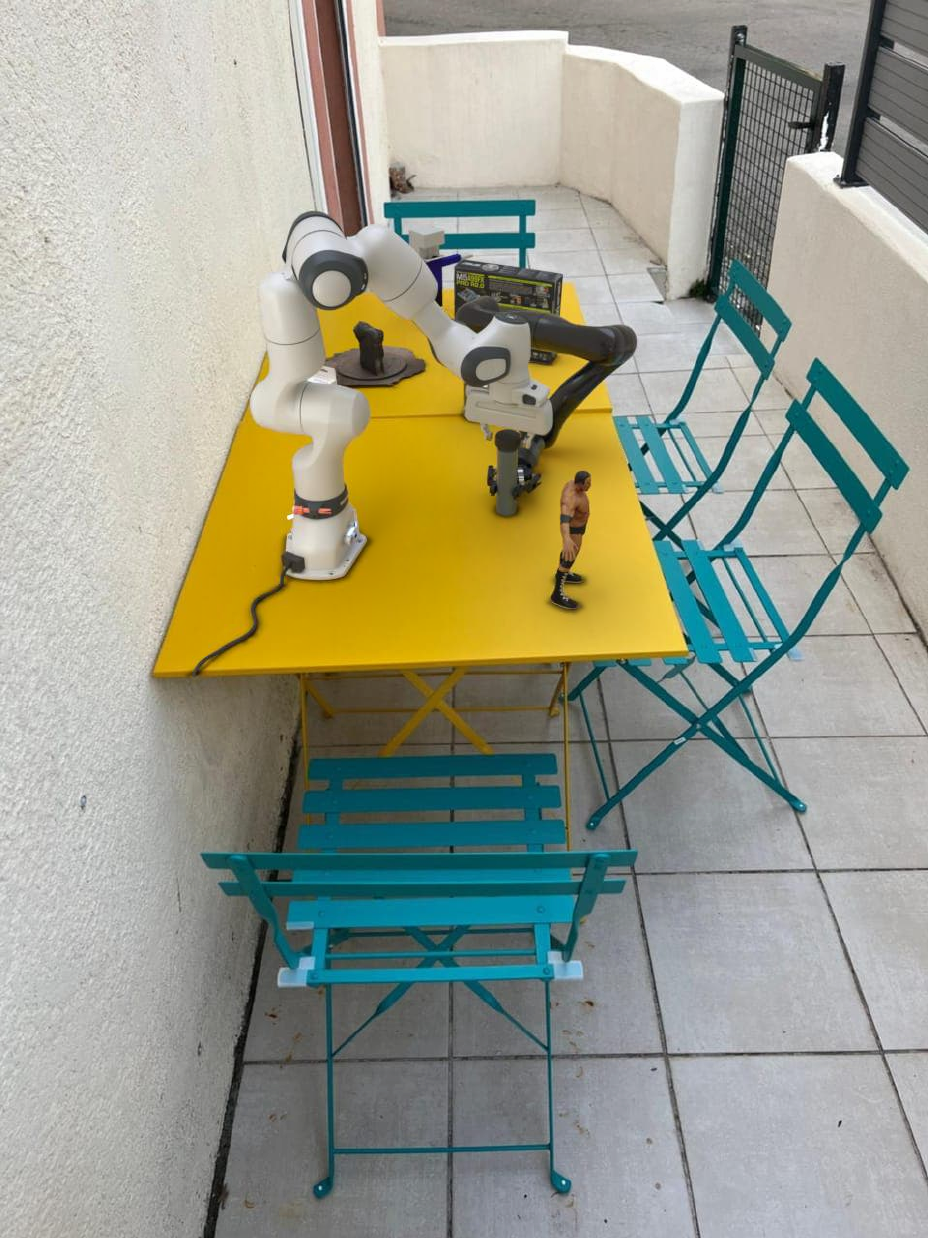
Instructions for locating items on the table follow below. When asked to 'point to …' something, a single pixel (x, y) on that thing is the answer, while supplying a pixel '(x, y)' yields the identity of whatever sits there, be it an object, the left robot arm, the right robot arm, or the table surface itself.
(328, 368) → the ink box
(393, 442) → the table surface
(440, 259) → the toy
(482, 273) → the box
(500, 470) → the jar
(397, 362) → the sculpture
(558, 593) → the figurine
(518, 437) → the lid
